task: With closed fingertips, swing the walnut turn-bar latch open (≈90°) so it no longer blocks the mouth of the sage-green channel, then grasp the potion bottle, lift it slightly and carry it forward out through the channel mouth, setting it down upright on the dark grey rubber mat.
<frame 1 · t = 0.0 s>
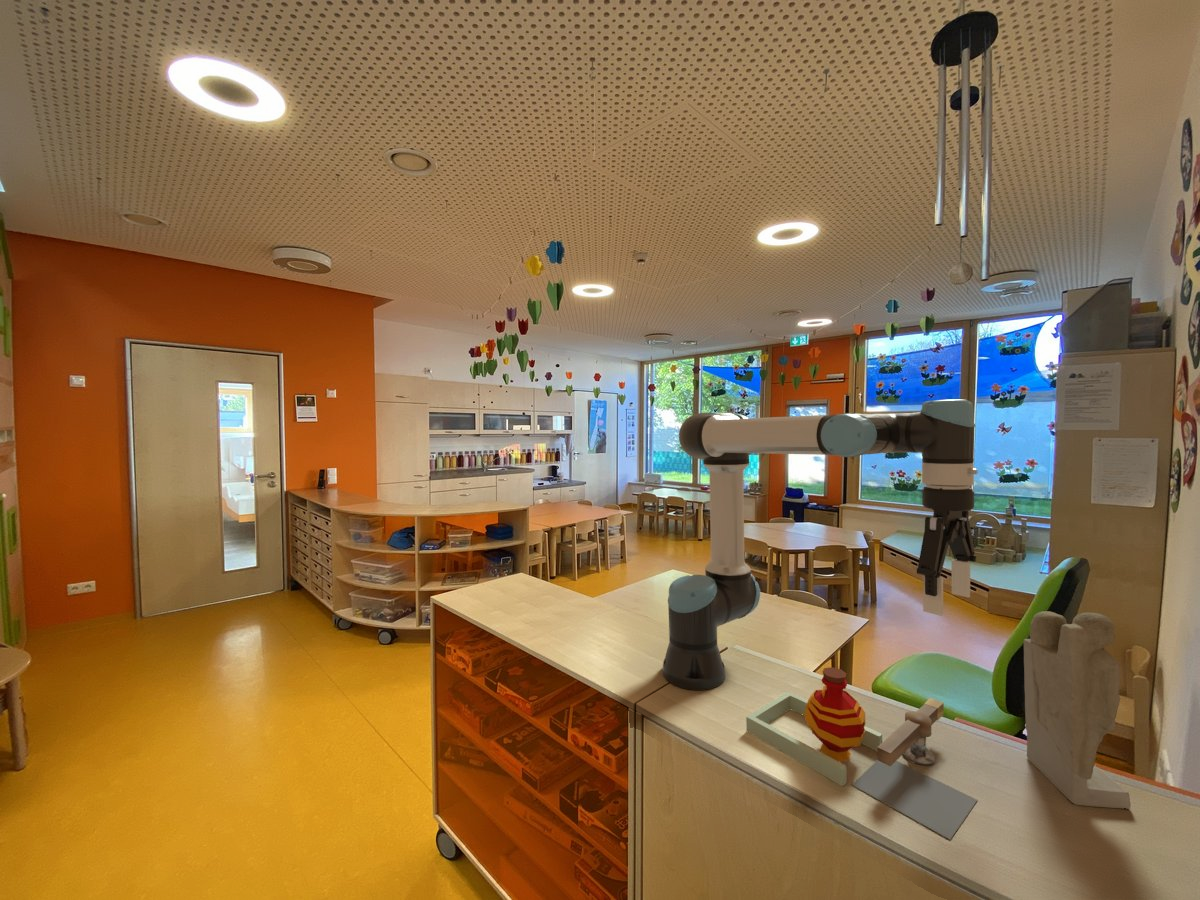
hand: (947, 604, 87), 28 cm above the cabinet top, fingers open, 13 cm apart
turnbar: (912, 729, 86), point 6 cm above the cabinet top, hinge at 0.0°
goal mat: (913, 792, 79), on the cabinet top
metal pivot base: (918, 756, 88), on the cabinet top
channel: (815, 741, 92), on the cabinet top
sculpture: (1076, 786, 80), on the cabinet top
potion bottle: (834, 753, 89), on the cabinet top
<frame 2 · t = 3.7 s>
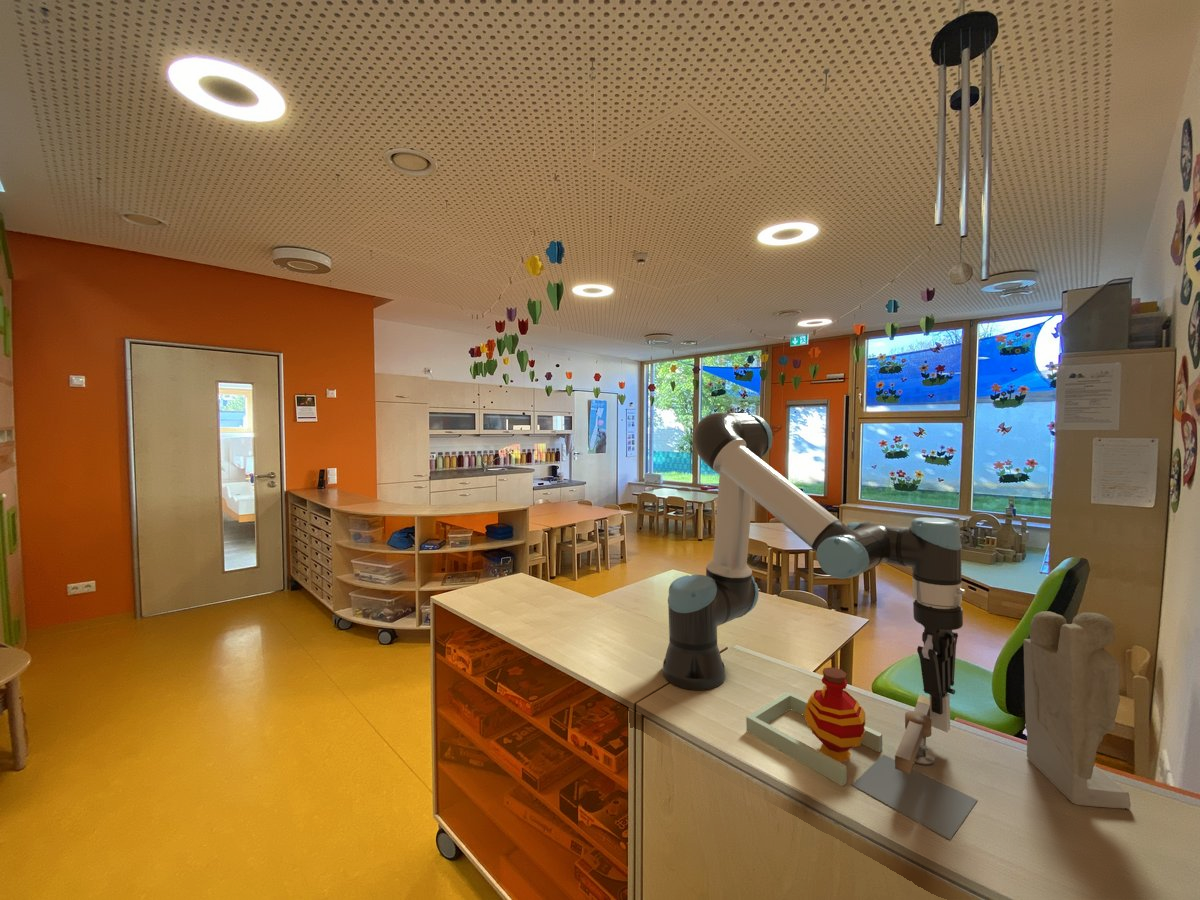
hand: (940, 727, 90), 4 cm above the cabinet top, fingers closed
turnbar: (915, 730, 86), point 6 cm above the cabinet top, hinge at 11.1°, touching gripper
everything else where it was.
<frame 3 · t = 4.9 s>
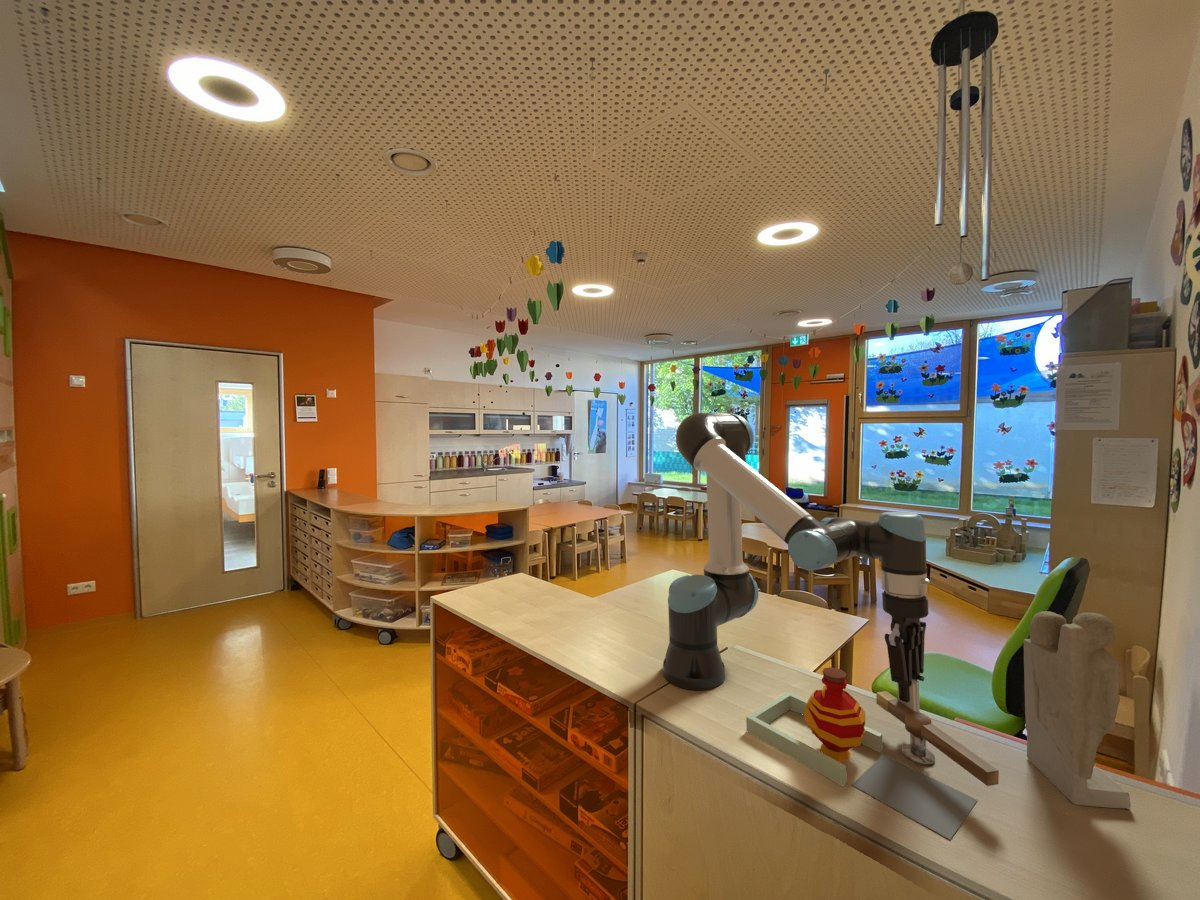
hand: (909, 714, 93), 4 cm above the cabinet top, fingers closed
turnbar: (929, 732, 85), point 6 cm above the cabinet top, hinge at 62.8°, touching gripper
everything else where it was.
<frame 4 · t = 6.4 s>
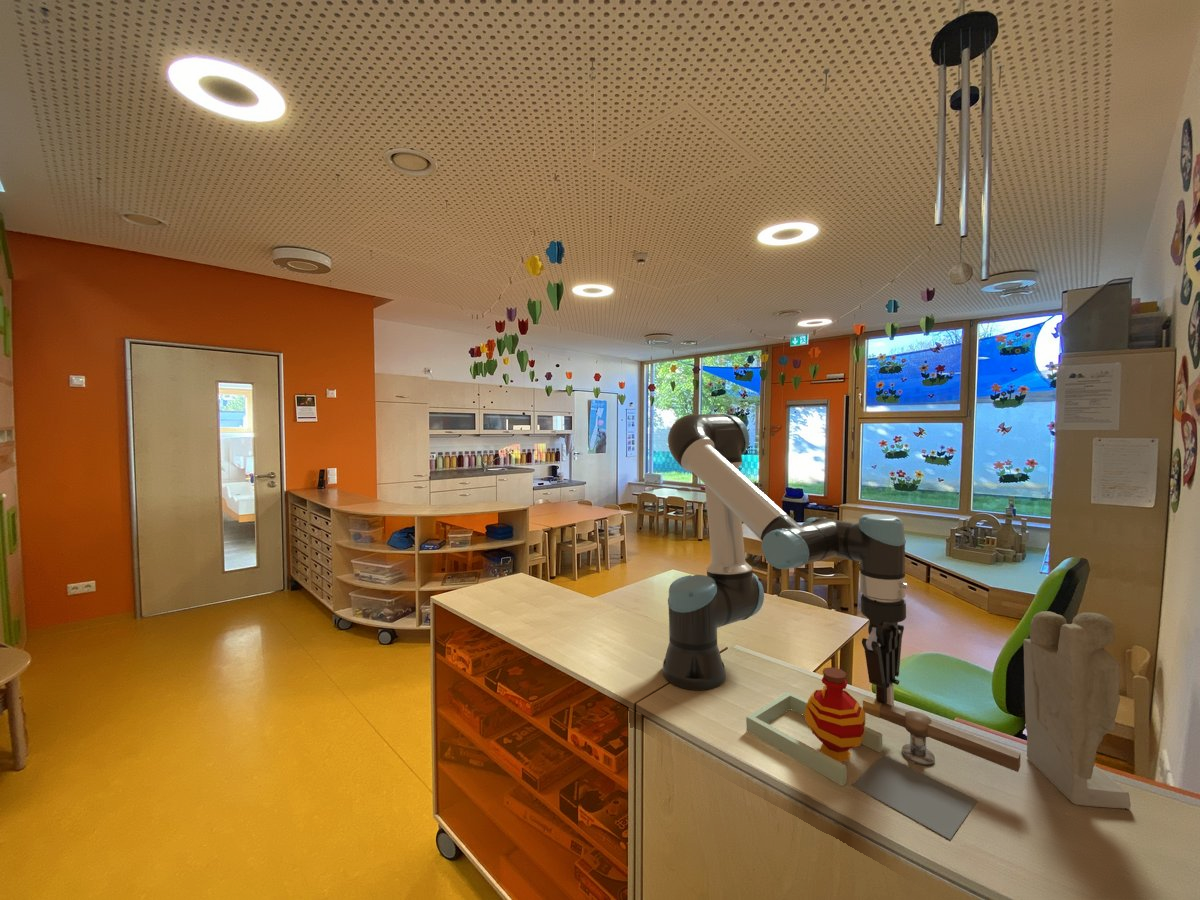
hand: (885, 716, 93), 4 cm above the cabinet top, fingers closed
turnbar: (934, 730, 85), point 6 cm above the cabinet top, hinge at 94.2°, touching gripper
everything else where it was.
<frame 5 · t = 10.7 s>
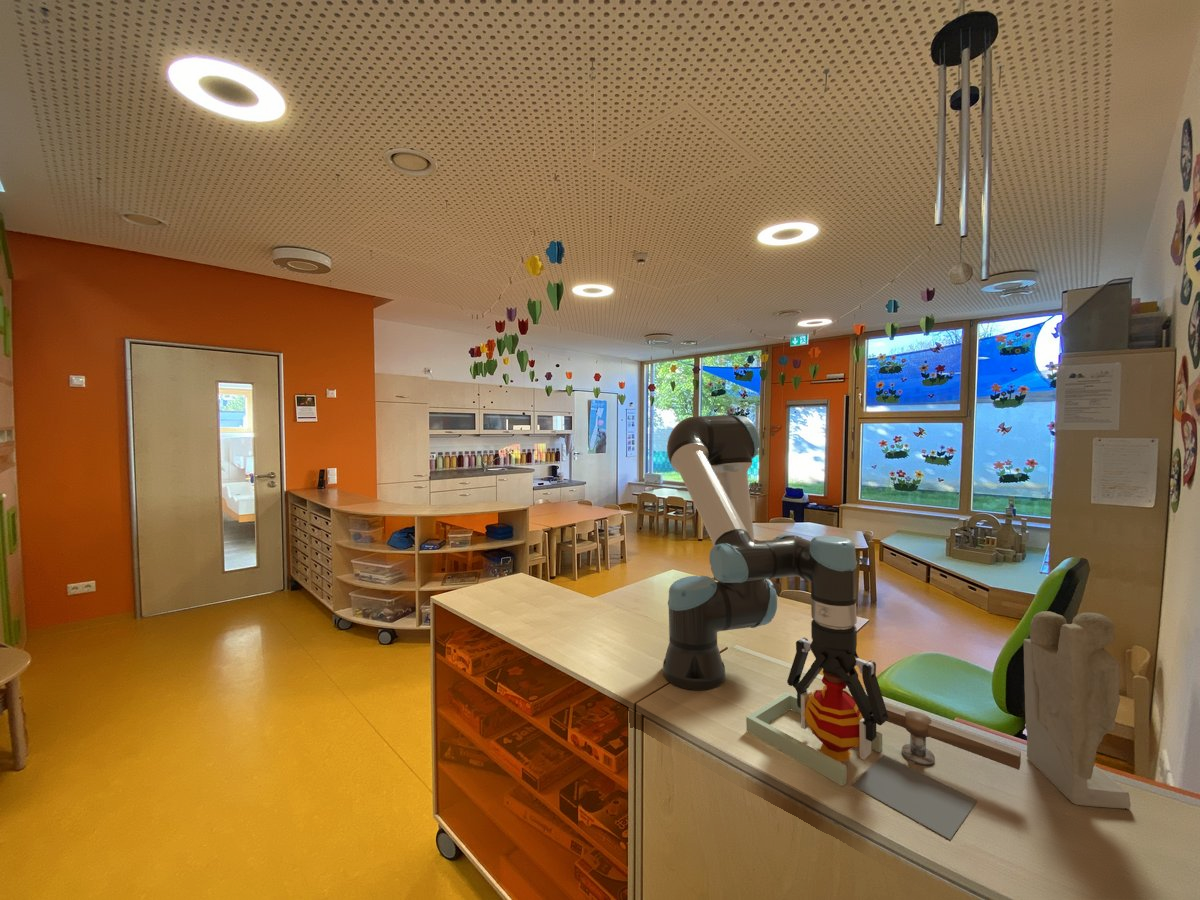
hand: (834, 739, 89), 2 cm above the cabinet top, fingers closed on potion bottle, 10 cm apart
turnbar: (934, 729, 86), point 6 cm above the cabinet top, hinge at 97.1°
potion bottle: (834, 753, 89), on the cabinet top, touching gripper
everything else where it was.
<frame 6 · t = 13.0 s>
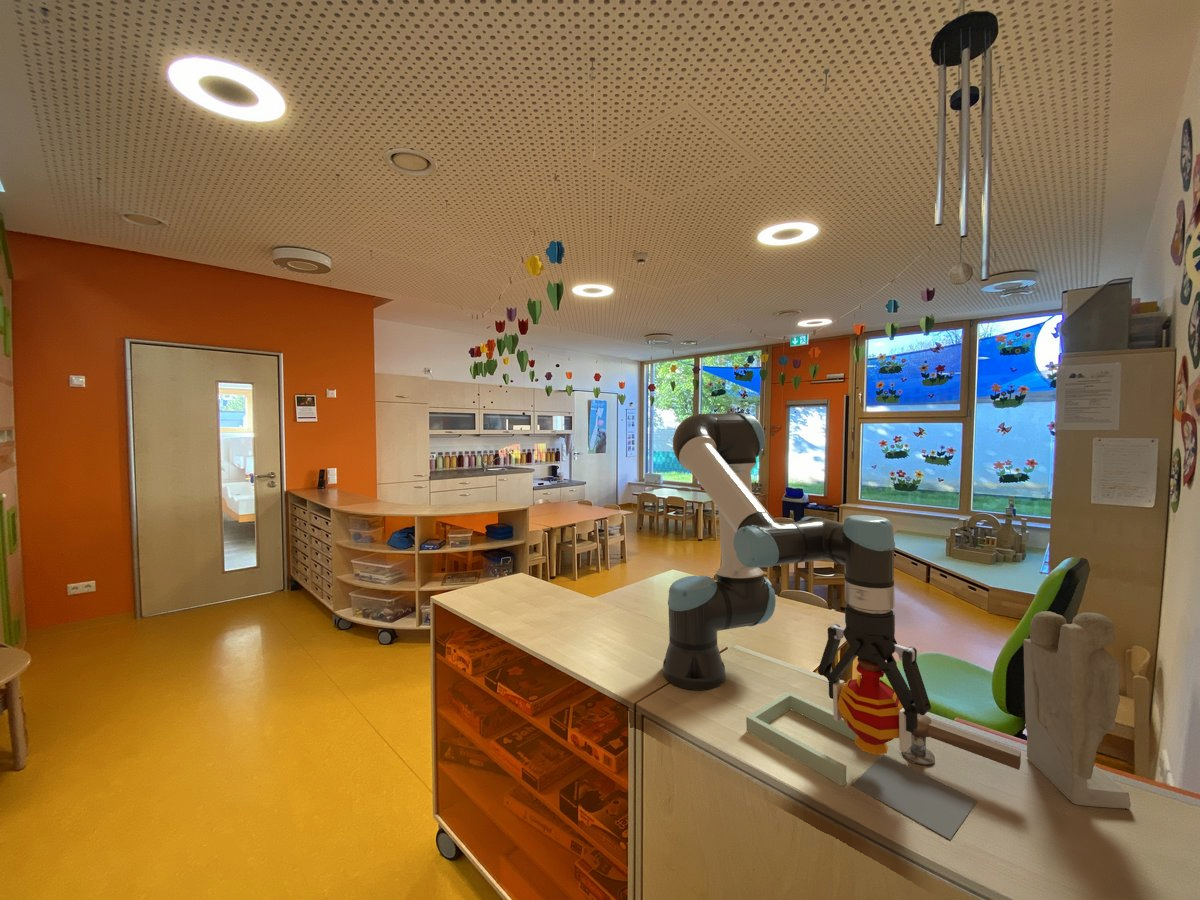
hand: (870, 731, 84), 7 cm above the cabinet top, fingers closed on potion bottle, 10 cm apart
potion bottle: (870, 746, 84), point 4 cm above the cabinet top, touching gripper
everything else where it was.
when the fingers open (3 cm above the cabinet top, at t = 15.6 s): potion bottle stays where it is, resting on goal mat.
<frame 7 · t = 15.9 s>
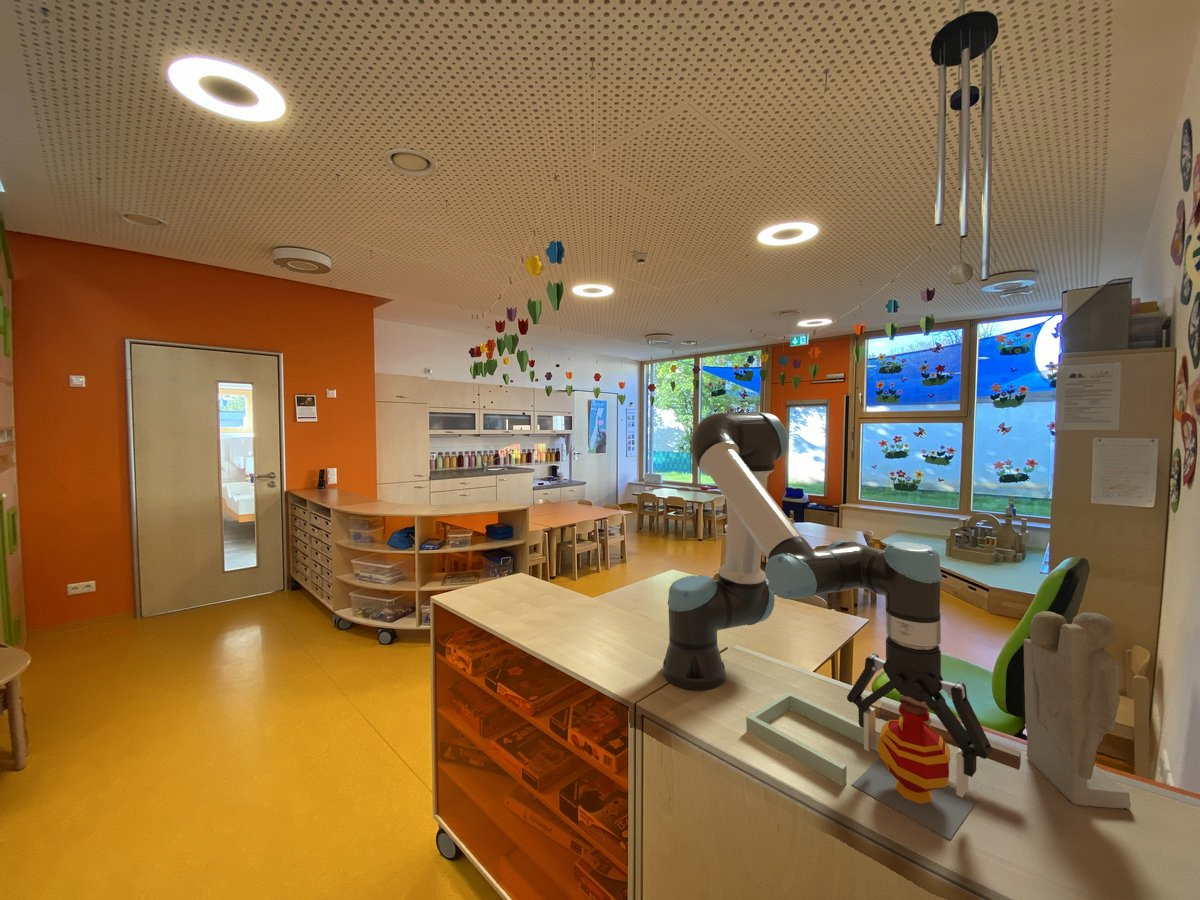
hand: (912, 768, 79), 4 cm above the cabinet top, fingers open, 13 cm apart
potion bottle: (912, 792, 79), resting on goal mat
everything else where it was.
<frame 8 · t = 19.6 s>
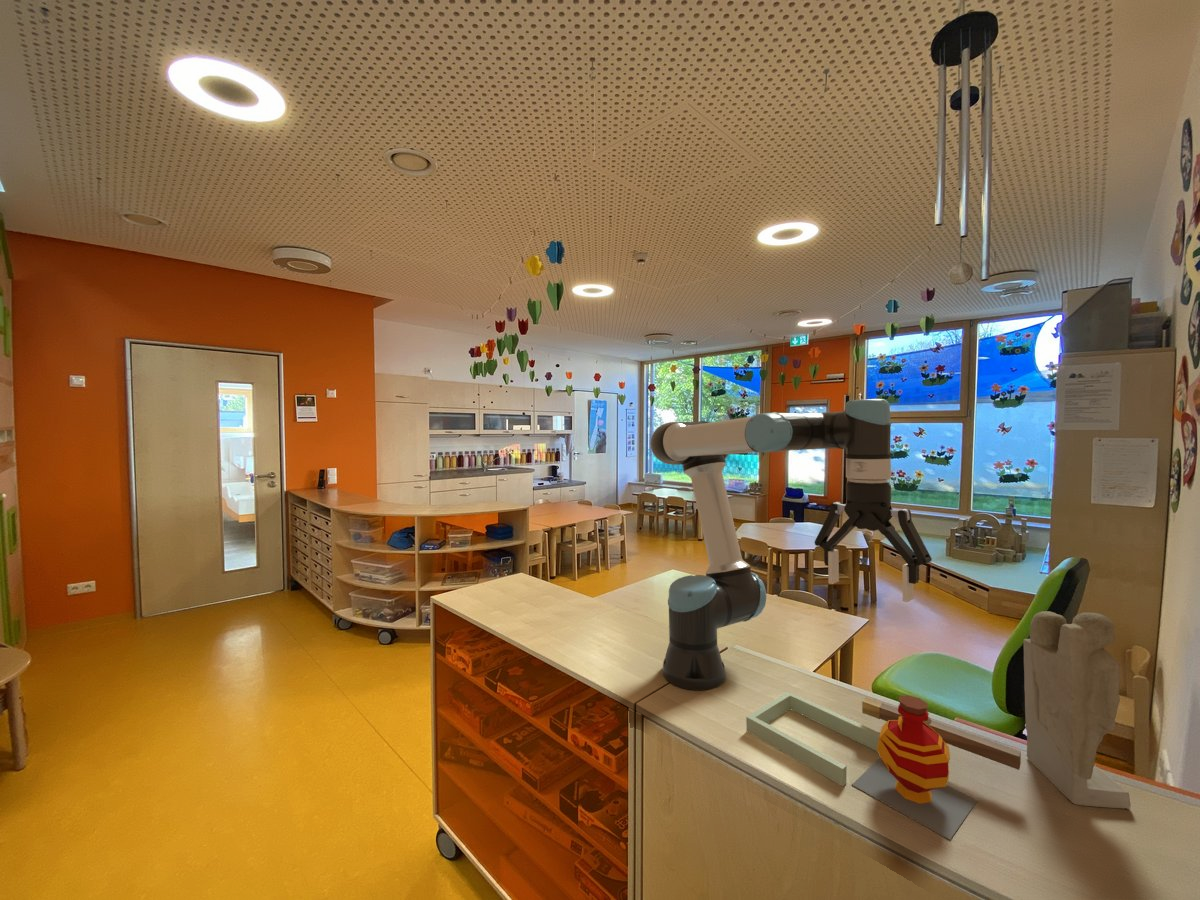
hand: (868, 590, 92), 29 cm above the cabinet top, fingers open, 13 cm apart
nothing on the cabinet top moved.
at the end: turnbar at +97° (first picture: +0°); potion bottle inside the target area (1.6 cm from its centre), resting on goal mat; potion bottle tilted 0° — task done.
